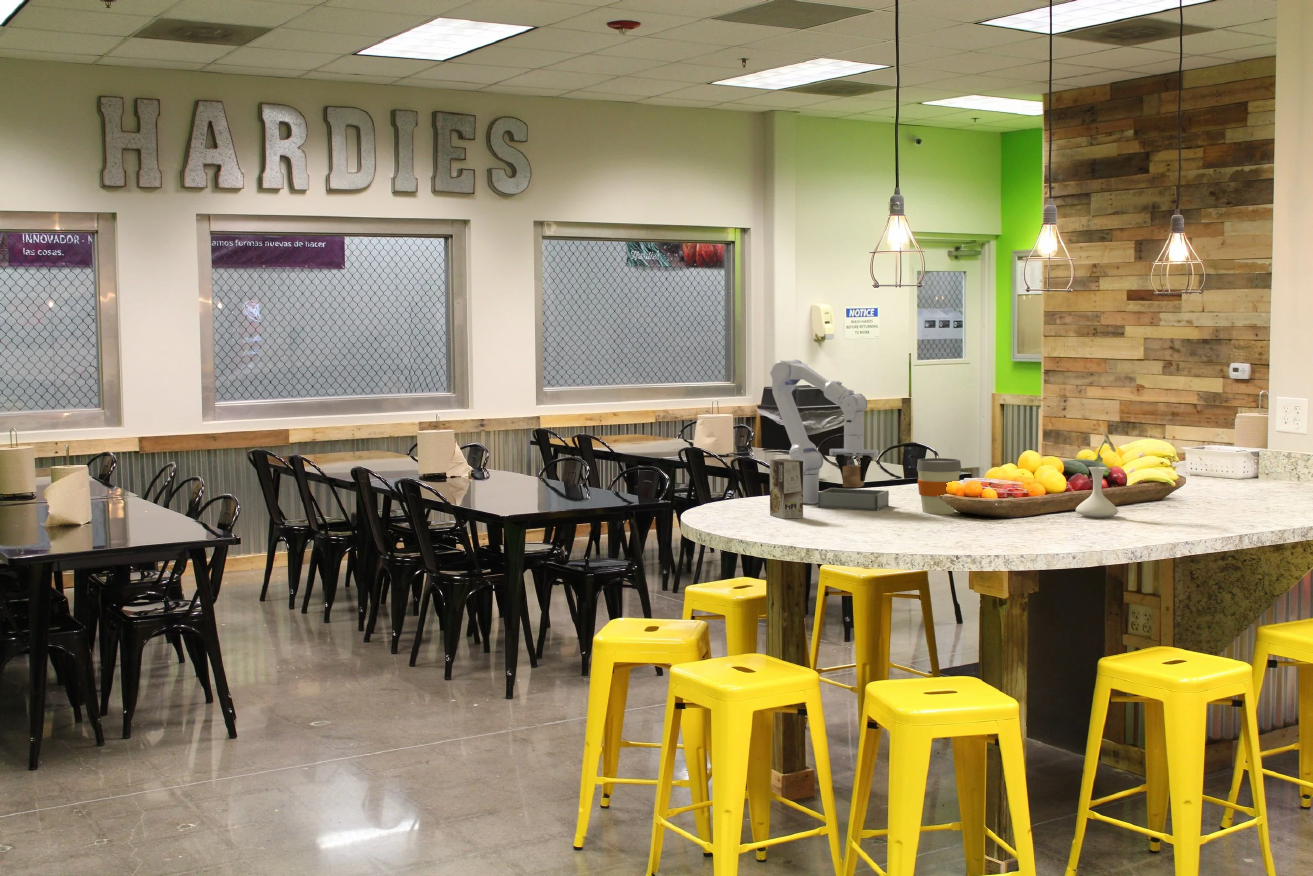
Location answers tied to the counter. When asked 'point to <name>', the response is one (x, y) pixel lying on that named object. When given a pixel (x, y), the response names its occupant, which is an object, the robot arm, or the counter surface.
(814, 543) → the counter surface
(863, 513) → the counter surface
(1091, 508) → the flower in vase
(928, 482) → the reusable coffee cup
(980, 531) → the counter surface
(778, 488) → the coffee box
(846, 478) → the walnut block
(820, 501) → the slate bin
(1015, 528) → the counter surface
